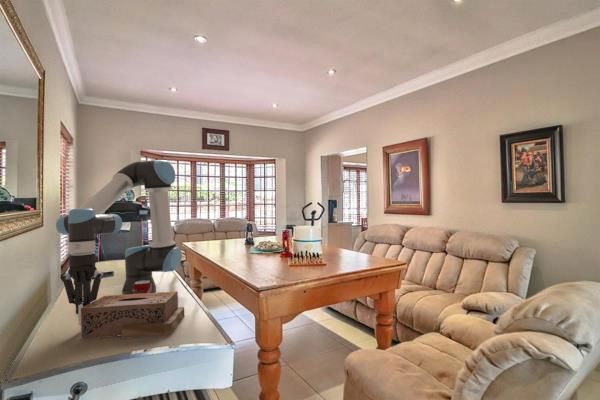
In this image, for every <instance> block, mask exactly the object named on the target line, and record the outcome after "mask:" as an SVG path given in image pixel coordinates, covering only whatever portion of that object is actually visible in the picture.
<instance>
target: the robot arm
mask: <svg viewBox="0 0 600 400" xmlns="http://www.w3.org/2000/svg"><path fill="white" fill-rule="evenodd" d="M175 181H176V171H175V167H174V166H173V165H172V163H171V162H170V161H168V160H166V159H165V160H164V159H154V160H153V159H152V160H141V161H140V160H139V161H134V162H131V163H129V164H127V165H126V166H124V167H122V168H121V169H120V170H118V171H117V172H116V173H114V174H113V175H112V179H111V180H110V181H109V182H108V183H107V184H106V185H104V186H102V188H101V189H100V190H98V191H97V192H96V193H95V194H94V195H92V196H91V197H89V199H88V200H87V201H85V203H83V204H82V205H81V206H80V207H78V208H73V209H70V210H69V211H68V214H66V215H61V216H60V217H58V219H57V220H56V222H55V228H56V230H57V232H58V233H60V234H61V235H66V236H68V254H69V256H68V266H69V269H68V271H67V273H65V274H63V275H61V276H60V277H59V278H60V280H61V281H62V282H63V285H64V289H65V292H66V297H67V299H68V303H69V304H73V305H75V314H76V315H78V317H77V318H78V322H77V323H78V326H81V308H83V307H85V306H86V305H88V304H90V303H92V302H94V301H96V300H97V299H98V298H97V297H98V293H99V289H100V285H101V280H102V279H103V277H104V275H105V272H104V271H103V272H100V271H99V270H98V269H97V266H96V260H97V259H96V256H97V255H96V253H95V252H96V251H97V249H96V236H97V235H98V236H99V235H107V234H110V235H112V234H115V233H118V232H119V231H121V229H122V227H123V219H122V218H121V216H120V215H118V214H116V213H105V212H106V211H107V210H108V209H109V208H110V207H111V206H112V205H113V204H114V203H116V202H117V201H118V200H119V199H120V198H121V197H122V196H123V195H124V194H125V193H127V192H129V191H131V190H132V189H134V188H136V187H140V186H144V190H145V191H147V192H148V200H149V212H150V221H151V222H150V223H151V225H150V226H151V234H152V242H151V244H146V245H139V246H134V247H128V248H126V250H125V252H124V253H125V254H124V255H125V256H124V259H125V260H124V264H125V265H124V266H125V280H124V283H123V286H122V289H121V295H127V294H133V286H134V285H135V284H134V283H135V282H137V281H143V280H149V281H150V283H151V285H152V293H157V285H156V282H155V279H154V277H153V273H154V272H155V273H159V272H160V273H161V272H163V273H167V272H175V271H176V270H177V269H178V268H179V266H180V264H181V263H182V259H183V258H182V257H183V256H182V255H183V253H182V252H183V251H182V250H181V248H180V247H178V246H177V243H176V241H174V240H173V235H172V222H171V210H170V209H171V208H170V200H169V199H170V198H169V197H170V196H169V191H170V190H171V189H172V185H173V184H174V183H175ZM93 277H94V279H93V282H92V278H93ZM72 279H73V280H72Z"/></svg>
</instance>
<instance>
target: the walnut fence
mask: <svg viewBox="0 0 600 400" xmlns="http://www.w3.org/2000/svg"><path fill="white" fill-rule="evenodd" d="M184 318H185V306H178V309H177V310H176V311H175V312H174V313H173V315H172V316H171V317H170V318H169V319H168V320H167V321H166V322H154V323H141V324H128V325H124V326H122V336H121V339H127V337H132V338H142V337H141V336H144V337H152V336H165V335H172V334H173V333H174V332H175V330H176V328H178V326H179V325H180V323H181V322H182V320H183V319H184Z"/></svg>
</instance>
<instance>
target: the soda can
mask: <svg viewBox="0 0 600 400" xmlns="http://www.w3.org/2000/svg"><path fill="white" fill-rule="evenodd" d="M134 284H135V285H134V286H133V294H143V293H152V285H151V283H150V281H149V280H143V281H137V282H135V283H134Z"/></svg>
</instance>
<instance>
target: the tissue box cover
mask: <svg viewBox="0 0 600 400" xmlns="http://www.w3.org/2000/svg"><path fill="white" fill-rule="evenodd" d="M178 293H179V292H178V291H177V290H176V291H162V292H154V293H143V294H127V295H122V294H115V295H113V294H112V295H104V296H101V297H100V298H97V299H96V300H94V301H93V302H91V303H90V304H88V305H86V306H85V307H83V308H81V325H80V329H81V330H80V333H81V338H80V339H81V340H82V339H83V340H84V339H97V337H100V338H109V336H112V337H119V336H118V335H122V326H124V325H128V324H141V323H154V322H166V321H167V320H168V319H169V318H170V317H171V316H172V315H173V313H174V312H175V311H176V310H177V309H178V307H179V300H178V299H179V296H178V295H179V294H178Z"/></svg>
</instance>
